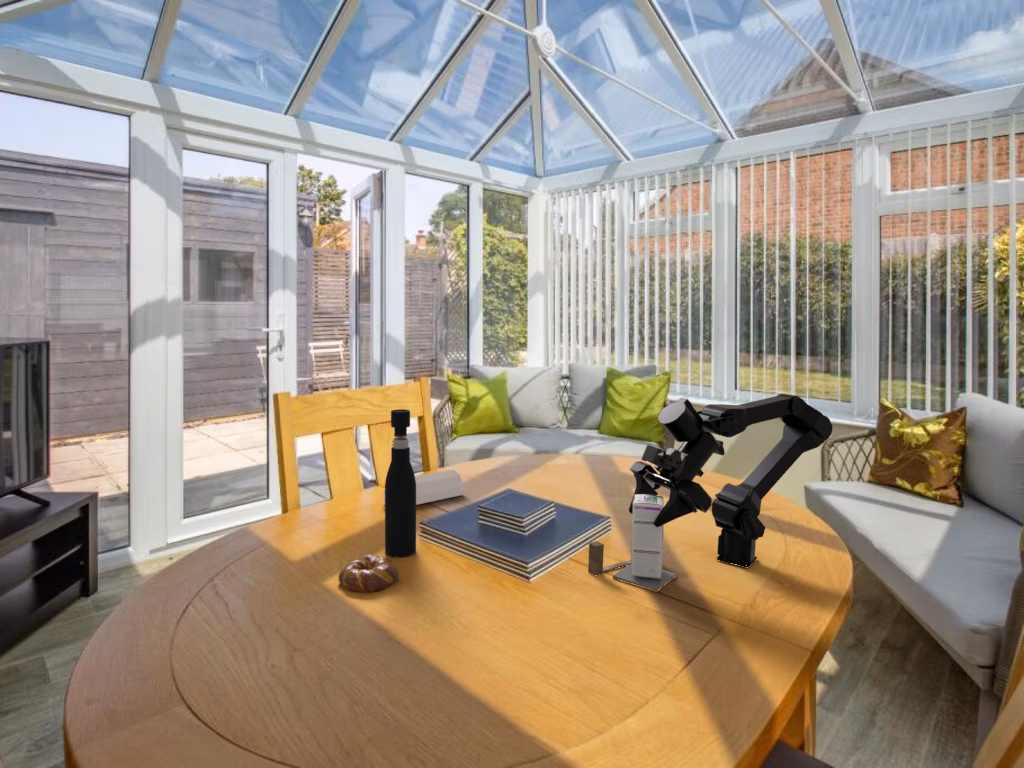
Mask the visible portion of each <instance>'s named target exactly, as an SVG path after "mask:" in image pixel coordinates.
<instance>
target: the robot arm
mask: <svg viewBox="0 0 1024 768" xmlns="http://www.w3.org/2000/svg"><path fill="white" fill-rule="evenodd" d="M778 418H779V419H780V421H781V422H782V423H783V424H784V425H783V428H782V438H781V439H780V441H778V443H777V444H775V446H774V447H773V448H772V449H771V450H769V452H768V453H767V455H766V456H765V457H764V458H763V459H762V460H761V462H759V464H757V466H756V467H755V468H754V469H753V470H752V471H751V472H750V473H749V474H748V476H746V478H745V479H744V480H743V481H742V482H741V483H740V484H736V485H735V484H732V483H730V482H727V483H726V484H724V485H723V487H722V489H721V490H720V491H718V493H716V494H715V495H714V497H715V498H714V499H712V497H711V496H710V495H709V493H708V492H707V491H706V490H705V488H703V486H702V485H701V484H700V483H698V482H695V481H694V480H695V478H696V476H697V477H698V478H702V476H703V475H704V474H705V472H704V471H703V470H702V468H703V467H704V466H705V465H706V463H707V462H708V461H710V458H711V457H712V456H713V454H716V455H720V456H725V448H724V441H723V440H719V439H716V437H715V436H714V435H717V436H721V437H724V438H733V437H735V436H737V435H739V434H741V433H744V432H745V431H746V429H747V428H748V427H749V426H752V425H755V424H759V423H763V422H767V421H771V420H775V419H778ZM658 421H659V423H660V424H661V425H662V426H663V427H664V429H665V430H666V431H667V432H668V433H669V434H670V435H671V437H672V438H673V439H674V440H675V442H677V443H682V444H681V445H680V446H679V448H677V449H675V448H672V447H669V448H668V449H667V450H664V449H662V448H659V447H656V446H653V445H650V444H646V447H645V449H644V452H643V454H642V457H641V460H642V461H641V460H639V461H635V462H634V463H633V464H632V465H631V467H630V468H629V470H630V472H632V473H633V477H634V478H635V484H636V485H635V490H634V493H633V495H632V496H633V497H632V498H631V502H630V504H629V508H628V512H629V513H630V514H631V515H633V499H634V495H635V494H648V495H657V496H659V495H658V494H659V493H658V491H656V490H658V489H660V488H661V487H662V488H665V489H667V490H670V492H669V497H668V500H667V502H666V503H665V505H663V509H662V510H661V512H660V513H659V515H658V516H657V518H656V519H655V521H654V523H653V524H654V525H655V526H656V527H660V526H662V525H663V526H664V525H666V524H668V523H670V522H673V521H675V520H677V519H678V518H682V517H684V516H686V515H689V514H692V513H695V514H696V513H697V512H698V511H700V512H703V513H707V512H708V510H709V509H710V508H711V515H712V517H713V519H714V522H715V523H714V524H715V527H717V528H721V530H720V535H718V537H717V550H716V551H717V552H716V553H717V555H718V556H717V557H716V561H718V560H720V561H719V562H722V561H724V562H723V563H726V562H728V563H727V564H729V563H733V564H737V565H740V566H744V567H749V566H750V565H751V564H752V563H753V562H754V561H755V560H756V559H757V560H758V557H757V555H756V543H757V540H759V538H763V537H764V533H765V532H766V526H765V525H764V524H763V522H762V521H761V520H760V519H759V515H760V514H761V507H762V500H763V498H764V497H765V496H766V495H767V494H768V493H769V492H770V491H771V490H772V489H773V487H774V486H775V485H776V484H777V483H778V482H779V481H780V479H782V477H783V476H784V475H785V474H786V473H787V471H788V470H789V469H790V468H791V467H792V466H793V464H794V463H796V461H797V460H798V459H799V458H800V457H801V456H802V455H803V454H804V453H806V452H809V451H811V450H814V449H817V448H819V447H821V445H822V444H824V443H825V442H826V441H827V440H828V439H829V438H830V437H831V435H832V433H833V424H832V422H831V420H830V418H829V417H828V416H826V415H824V414H823V413H822V412H821V411H819V410H818V409H816V408H815V407H813V406H811V405H810V404H808V403H807V402H806V401H805V400H804V399H803V398H801V397H800V396H799V395H794V394H787V393H780V394H778V395H777V394H776V395H775V396H771V397H767V398H762V399H758V400H754V401H749V402H744V403H739V404H718V403H717V404H715V403H714V404H707V405H705V406H704V407H703V408H702V409H701V410H696V409H695V408H694V406H693V404H692V402H691V401H690V400H689V399H688V398H684V397H683V398H682V397H681V398H679V399H678V400H677V401H675V402H671V403H670V404H669V405H667V406H666V407H663V408H662V409H661V410H660V412H659V414H658ZM643 461H644V462H643ZM647 462H648V463H647ZM649 463H650V464H649ZM652 465H655V466H652ZM658 472H659V473H658ZM757 560H756V561H757ZM756 561H755V562H756ZM755 562H754V563H755ZM754 563H753V564H754ZM733 564H732V565H733ZM753 564H752V565H753ZM737 565H736V566H737ZM746 565H747V566H746ZM752 565H751V566H752ZM740 566H739V567H740ZM751 566H750V567H751ZM744 567H743V568H744ZM750 567H749V568H750Z"/></svg>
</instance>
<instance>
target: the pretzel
mask: <svg viewBox="0 0 1024 768" xmlns="http://www.w3.org/2000/svg"><path fill="white" fill-rule="evenodd" d="M399 577H400V571H399V569H398V567H397V566H396V565H393V562H392V559H390V558H389V557H386V556H383V555H382V556H379V555H377V554H371V553H369V554H364V555H362V556H360V557H359V558H357V559H354V560H352V561H349V562H348V563H347V564H346V565H345V566H344V567H343V568H342V569H341V570H340V572H339V574H338V581H339V583H340V585H341V586H342V587H344V588H347V589H348V590H350V591H353V592H359V593H360V592H363V593H364V592H366V593H370V592H379V591H382V590H384V589H385V588H387V587H388V586H389V585H393V584H395V583H397V582H398V580H399Z"/></svg>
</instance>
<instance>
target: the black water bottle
mask: <svg viewBox="0 0 1024 768" xmlns="http://www.w3.org/2000/svg"><path fill="white" fill-rule="evenodd" d="M390 427H391V428H394V432H393V436H394V438H393V439H392V447H391V450H390V453H391V457H390V459H391V460H390V463H389V466H388V470H387V473H386V476H385V482H384V491H385V502H384V552H385V554H386V555H387V556H388V557H392V558H405V557H409V556H412V555H414V554H415V553H416V551H417V505H416V481H415V471H414V469H413V466H412V463H411V459H410V456H411V451H410V450H411V448H410V446H409V442H410V441H409V438H408V437H407V436H408V434H407V431H408V428H410V427H411V411H410V410H409V409H404V408H403V409H391V411H390Z"/></svg>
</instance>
